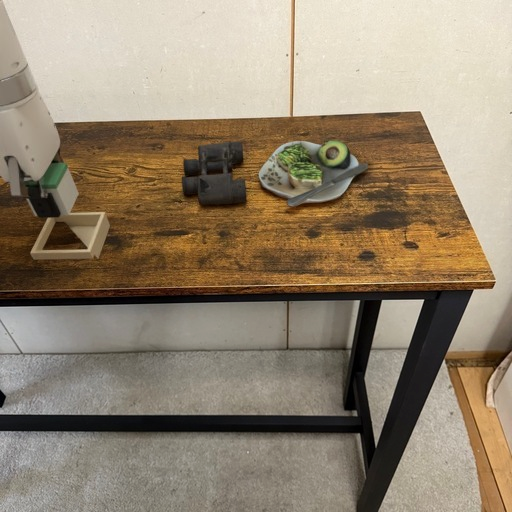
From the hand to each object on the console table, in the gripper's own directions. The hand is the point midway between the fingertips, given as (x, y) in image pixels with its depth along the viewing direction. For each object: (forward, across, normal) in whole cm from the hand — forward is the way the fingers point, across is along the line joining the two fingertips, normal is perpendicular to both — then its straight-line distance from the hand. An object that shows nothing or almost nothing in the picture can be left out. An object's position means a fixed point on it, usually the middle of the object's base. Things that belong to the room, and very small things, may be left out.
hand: (56, 202), depth 67 cm
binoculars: (+9, -16, +21) cm, 28 cm away
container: (0, 0, 0) cm, 0 cm away
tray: (+9, 0, 0) cm, 9 cm away
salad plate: (+9, -18, +39) cm, 44 cm away
